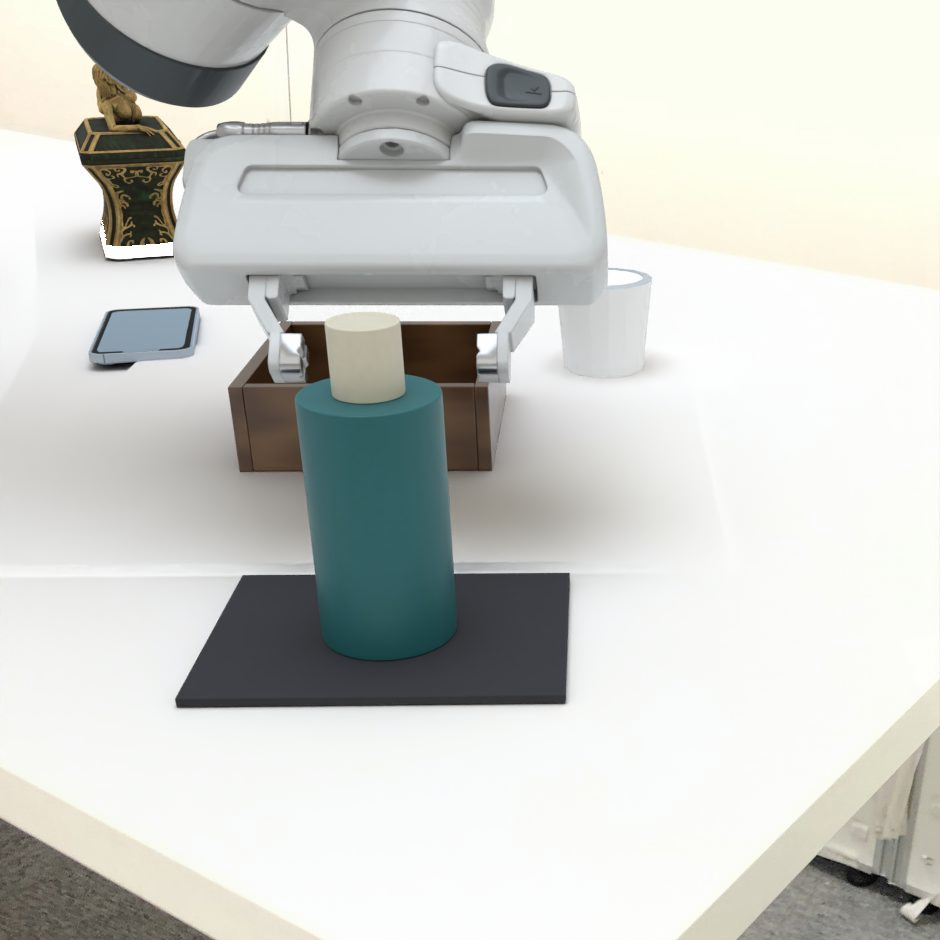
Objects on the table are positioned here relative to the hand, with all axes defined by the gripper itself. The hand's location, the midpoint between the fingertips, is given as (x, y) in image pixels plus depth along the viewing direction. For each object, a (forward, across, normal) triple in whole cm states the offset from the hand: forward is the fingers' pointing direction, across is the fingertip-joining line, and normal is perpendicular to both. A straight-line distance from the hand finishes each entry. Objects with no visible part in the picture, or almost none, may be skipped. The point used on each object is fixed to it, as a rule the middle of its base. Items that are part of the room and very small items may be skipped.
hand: (390, 377), depth 61 cm
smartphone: (-24, -25, +38) cm, 51 cm away
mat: (+12, 0, +2) cm, 12 cm away
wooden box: (-7, -4, +22) cm, 23 cm away
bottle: (+12, 0, +2) cm, 12 cm away
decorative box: (-50, -37, +65) cm, 90 cm away
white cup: (-17, +10, +32) cm, 37 cm away
